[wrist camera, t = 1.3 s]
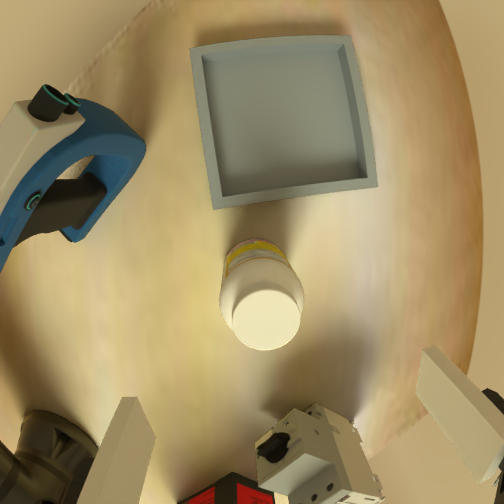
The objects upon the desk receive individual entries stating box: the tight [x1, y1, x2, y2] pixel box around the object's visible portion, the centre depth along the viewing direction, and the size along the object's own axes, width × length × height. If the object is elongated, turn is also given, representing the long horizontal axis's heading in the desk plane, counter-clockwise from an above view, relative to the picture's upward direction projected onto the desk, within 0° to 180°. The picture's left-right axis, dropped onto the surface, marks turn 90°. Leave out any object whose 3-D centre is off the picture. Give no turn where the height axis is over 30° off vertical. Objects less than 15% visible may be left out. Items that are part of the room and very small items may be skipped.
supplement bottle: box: [219, 239, 304, 350], centre depth 27 cm, size 7×7×13 cm
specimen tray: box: [189, 35, 378, 210], centre depth 29 cm, size 16×16×3 cm
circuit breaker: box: [255, 403, 386, 504], centre depth 32 cm, size 8×14×15 cm, turn 53°
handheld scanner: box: [0, 84, 146, 273], centre depth 21 cm, size 5×16×20 cm, turn 135°
